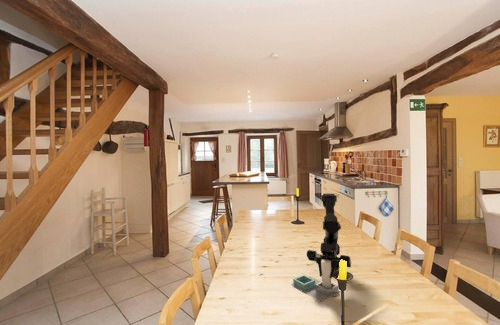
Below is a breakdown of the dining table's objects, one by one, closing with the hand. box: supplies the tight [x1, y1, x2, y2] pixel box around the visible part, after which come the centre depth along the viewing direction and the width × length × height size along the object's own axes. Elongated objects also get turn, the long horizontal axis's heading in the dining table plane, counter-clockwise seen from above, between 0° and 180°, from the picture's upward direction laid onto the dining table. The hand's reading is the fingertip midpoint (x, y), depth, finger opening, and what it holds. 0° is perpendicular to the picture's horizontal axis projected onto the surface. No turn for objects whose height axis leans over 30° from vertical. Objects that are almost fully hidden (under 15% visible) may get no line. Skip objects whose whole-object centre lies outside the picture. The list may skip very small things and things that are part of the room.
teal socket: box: [292, 274, 315, 290], centre depth 120 cm, size 7×7×2 cm
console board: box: [290, 276, 342, 303], centre depth 118 cm, size 18×13×1 cm
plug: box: [321, 259, 332, 290], centre depth 115 cm, size 4×4×13 cm
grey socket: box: [315, 281, 339, 297], centre depth 115 cm, size 7×7×2 cm
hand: (325, 277), depth 113 cm, fingers closed on plug, 4 cm apart
